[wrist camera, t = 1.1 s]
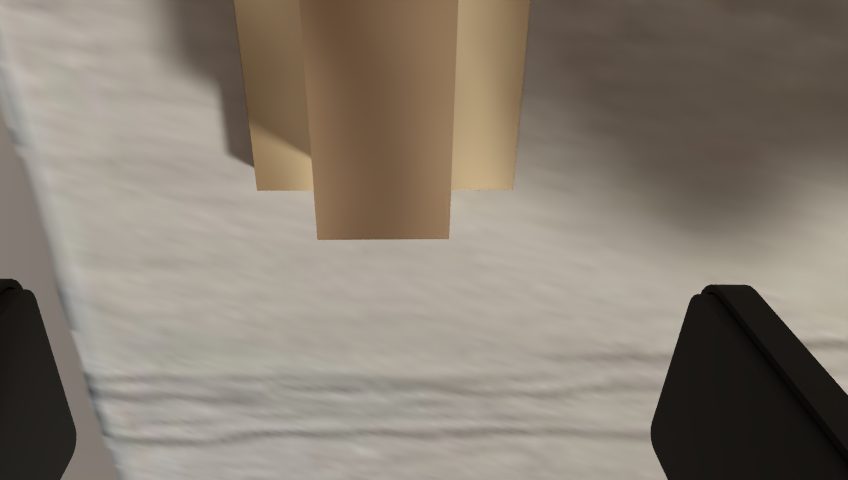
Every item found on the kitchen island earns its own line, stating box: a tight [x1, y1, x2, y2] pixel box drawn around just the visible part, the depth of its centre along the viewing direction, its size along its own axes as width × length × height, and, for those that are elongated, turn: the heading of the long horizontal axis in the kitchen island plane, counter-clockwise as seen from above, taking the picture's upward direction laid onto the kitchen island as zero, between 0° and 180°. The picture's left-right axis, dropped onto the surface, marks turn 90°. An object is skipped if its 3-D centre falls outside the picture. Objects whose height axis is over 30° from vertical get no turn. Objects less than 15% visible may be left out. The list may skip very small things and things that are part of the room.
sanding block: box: [299, 0, 458, 240], centre depth 23 cm, size 4×8×6 cm, turn 179°
